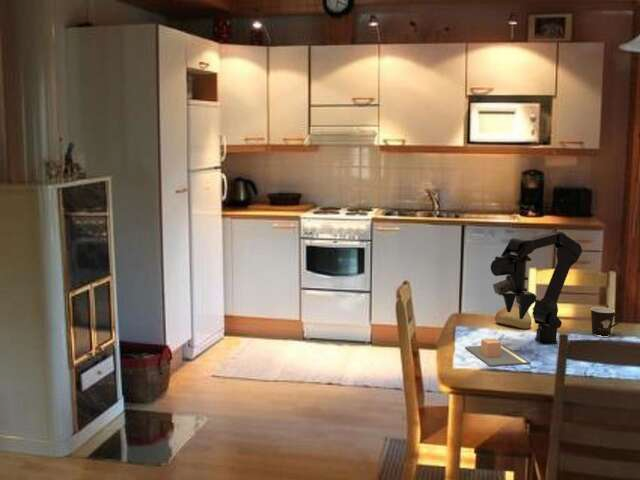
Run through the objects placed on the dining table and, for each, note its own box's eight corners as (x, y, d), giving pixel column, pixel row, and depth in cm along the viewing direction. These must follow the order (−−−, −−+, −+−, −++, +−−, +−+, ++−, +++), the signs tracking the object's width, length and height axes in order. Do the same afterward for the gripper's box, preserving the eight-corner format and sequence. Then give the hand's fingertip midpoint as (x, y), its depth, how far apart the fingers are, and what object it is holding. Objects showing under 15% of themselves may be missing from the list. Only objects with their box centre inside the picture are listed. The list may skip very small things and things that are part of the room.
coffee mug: (588, 336, 281) (590, 311, 279) (589, 330, 289) (591, 306, 287) (621, 340, 276) (623, 314, 275) (621, 334, 284) (623, 309, 283)
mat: (502, 345, 267) (502, 344, 267) (530, 363, 248) (530, 361, 248) (465, 348, 264) (465, 346, 264) (490, 366, 245) (490, 364, 244)
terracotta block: (493, 352, 258) (494, 338, 257) (500, 356, 253) (501, 342, 253) (480, 352, 257) (481, 339, 256) (487, 357, 252) (487, 343, 251)
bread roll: (499, 320, 302) (500, 301, 301) (535, 326, 294) (536, 307, 292) (490, 325, 294) (492, 306, 293) (527, 331, 286) (528, 312, 285)
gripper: (485, 268, 268) (482, 309, 271) (509, 280, 251) (506, 323, 253) (512, 267, 271) (510, 308, 274) (538, 278, 253) (535, 322, 256)
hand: (514, 315), depth 264 cm, fingers open, 9 cm apart
